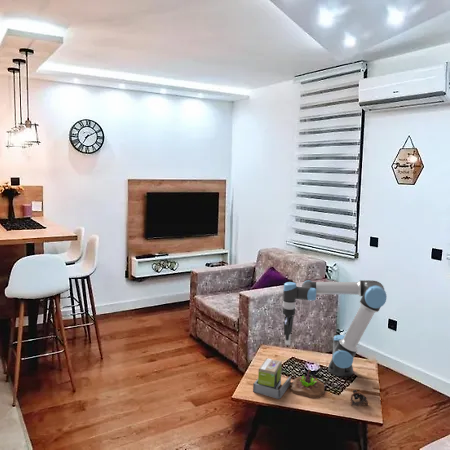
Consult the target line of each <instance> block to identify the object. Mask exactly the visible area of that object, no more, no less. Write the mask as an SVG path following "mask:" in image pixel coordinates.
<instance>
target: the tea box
mask: <svg viewBox="0 0 450 450" xmlns="http://www.w3.org/2000/svg"><path fill="white" fill-rule="evenodd" d="M257 373H258V378H257V379H258V384H260V385H264V386H267V387H271V388H274V389H278V390H279V389H280V388H279V387H281V384H282V360H278V359H273V358H269V357H268V358H267V357H266V358H265V359H264V361H263V362H262V363H261V365H260V366H259V368H258V372H257Z"/></svg>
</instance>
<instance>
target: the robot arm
mask: <svg viewBox="0 0 450 450" xmlns="http://www.w3.org/2000/svg"><path fill="white" fill-rule="evenodd" d="M317 295H353V296H354V295H355V296H356V295H357V296H359V297H361V298H360V300H359V303H360V306H359V307H358V309H357V312H356V313H355V316H354V318H353V319H352V322H351V323H350V325H349V327H348V329H347V331H346V333H345V334H343V335H342V334H337V335H334V336H333V340H332V341H333V343H332V356H331V360H330V362H329V363H328V367H327V368H328V372H329V373H331V374H332V375H334V376H337V377H342V378H343V377H345V378H348V377H350V376H352V375H354V374H353V373H354V366H353V363H354V359H355V356H356V354H357V352H358V348H357V347H358V345H359V342H360V340H361V339H362V337H363V335H364V334H365V332H366V330H367V328H368V325H369V324H370V322H371V320H372V318H373V316H374V315H375V313H379V311H380V309H381V308H382V307H383V306H384V305H385V304H386V302H387V292H386V290H385V286H384V285H383V284H382V283H381V282H380V281H378V280H365V279H364V280H361V279H360V280H359V281H312V280H310V279H309V280H305V281H304V282H303V283H302V285H301V286H297V283H296V282H292V281H287V282H285V283H283V299H282V314H283V315H284V321H282V323H283V335H284V336H285V340H284V345H286V346H290V345H291V335H292V334H293V332H292V331H293V323H294V318H295V317H294V316H295V315H296V301H297V300H302V301H303V300H304V301H310V302H311V301H316V299H317Z"/></svg>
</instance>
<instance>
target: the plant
mask: <svg viewBox="0 0 450 450" xmlns="http://www.w3.org/2000/svg"><path fill="white" fill-rule="evenodd" d="M310 373H311V369H309V368H308V371H307V374H306V375H302V376H297V377H295V378H294V379H293V380H292V381H291V383H290V386H289V389H290V392H291V393H292V394H295V395H298V396H299V395H300V396H303V397H307V398H310V399H318V398H321V396H323V395H325V383H324V382H322V380H321V381H320V380H319V379H318V378H317V377H316V376H312V375H311V376H310Z"/></svg>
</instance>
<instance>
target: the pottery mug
mask: <svg viewBox="0 0 450 450" xmlns="http://www.w3.org/2000/svg"><path fill="white" fill-rule="evenodd" d="M352 392H353V393H352V394H351V395H350V406H352V407H357V408H358V407H361V406H365V404H366V405H367V406H369V402H368V399H367V395H365V394H364V393H362V392H361V391H358V390H357V389H353V391H352ZM353 398H354V399H353ZM358 399H359V401H356V400H358Z"/></svg>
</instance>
